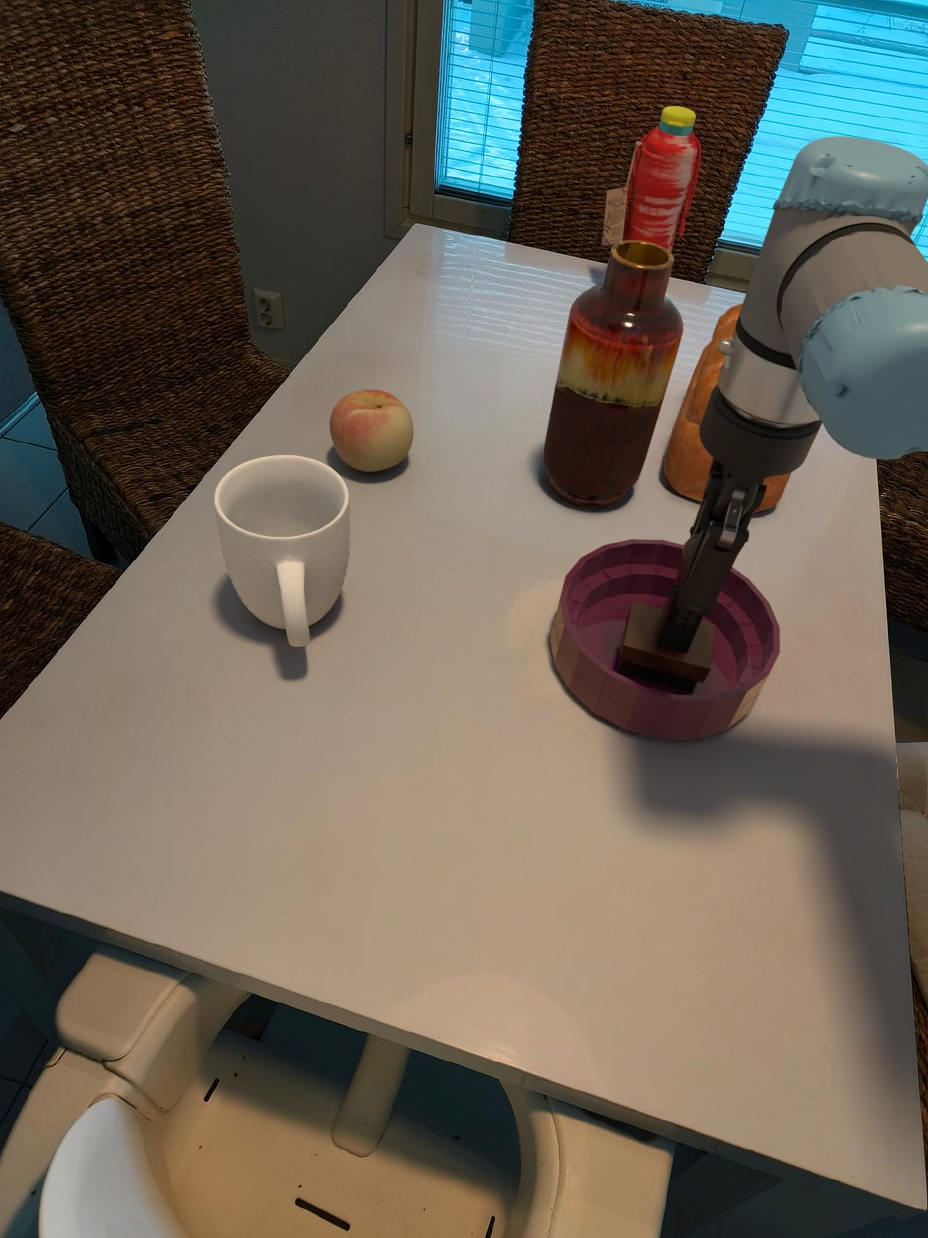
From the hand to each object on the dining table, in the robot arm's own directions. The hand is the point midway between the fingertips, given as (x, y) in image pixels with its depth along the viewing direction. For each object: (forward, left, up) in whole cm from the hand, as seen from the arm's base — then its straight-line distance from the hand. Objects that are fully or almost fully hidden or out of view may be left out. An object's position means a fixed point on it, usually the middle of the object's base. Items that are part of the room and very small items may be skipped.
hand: (674, 632), depth 74 cm
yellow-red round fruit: (+36, +16, -5) cm, 40 cm away
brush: (0, 0, -4) cm, 4 cm away
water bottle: (+67, -34, -5) cm, 76 cm away
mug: (+16, +30, -5) cm, 35 cm away
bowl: (+1, 0, -5) cm, 5 cm away
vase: (+26, -6, -5) cm, 28 cm away
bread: (+28, -27, -5) cm, 39 cm away
